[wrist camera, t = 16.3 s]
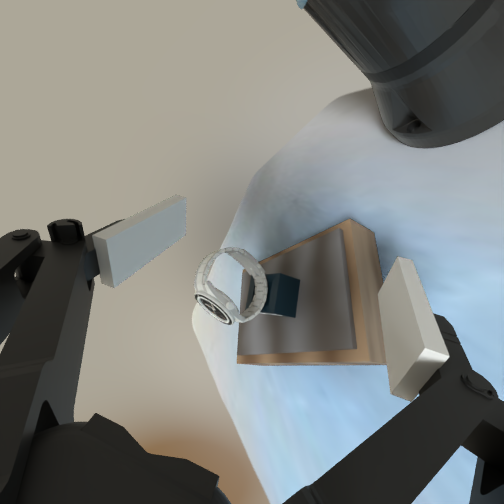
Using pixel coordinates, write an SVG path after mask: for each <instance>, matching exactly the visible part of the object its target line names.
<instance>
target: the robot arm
mask: <svg viewBox="0 0 504 504" xmlns="http://www.w3.org/2000/svg"><path fill="white" fill-rule="evenodd" d="M296 1H297V5H298V6H299V8H300V9H304V10H305V11H306V12H307V13H308V14H309V15H310V16H311V17H312V18H313V19H314V21H315V22H317V24H318V25H319V26H320V27H321V28H322V29H323V30H324V31H325V32H326V34H327V35H328V36H329V37H330V38H331V39H332V40H333V41H334V42H335V43H336V44H337V46H338V47H339V48H340V49H341V50H342V51H343V52H344V53H345V54H346V55H347V56H348V57H349V59H350V60H351V61H352V62H353V63H354V64H355V65H356V66H357V67H358V68H359V69H360V70H361V72H362V73H363V74H364V75H365V76H366V77H367V78H368V79H369V81H370V82H371V85H372V89H373V92H374V95H375V98H376V101H377V105H378V108H379V111H380V114H381V117H382V120H383V123H384V124H385V126H386V128H387V129H388V130H389V131H390V132H391V133H392V134H393V135H394V136H395V137H396V138H397V139H398V140H399V141H401V142H402V143H404V144H406V145H409V146H412V147H418V148H433V147H440V146H445V145H449V144H453V143H456V142H460V141H462V140H465V139H468V138H470V137H473V136H475V135H477V134H479V133H482V132H483V131H485V130H487V129H489V128H491V127H493V126H495V125H497V124H498V123H500V122H501V121H503V120H504V0H296ZM47 227H48V231H49V234H50V238H51V241H43V240H41V239H40V236H39V233H38V232H37V231H35V230H30V229H28V230H27V229H20V230H15V231H13V232H10V233H8V234H6V235H4V236H3V237H1V238H0V344H1V343H2V342H3V341H4V340H5V338H6V337H7V336H8V335H9V336H8V338H7V341H6V343H5V345H4V347H3V349H2V351H1V354H0V504H231V503H230V501H229V500H228V498H227V497H226V496H225V494H224V493H223V492H222V491H221V490H220V489H219V488H218V487H217V486H218V480H219V476H218V475H216V474H214V473H212V472H210V471H208V470H207V469H204V468H203V467H201V466H199V465H197V464H195V463H193V462H191V461H189V460H187V459H182V458H175V457H168V456H162V455H154V454H150V453H147V452H146V451H145V450H144V449H143V448H142V447H141V446H140V445H139V444H138V442H137V441H136V440H135V439H134V438H133V437H132V436H131V435H130V434H129V433H128V431H127V430H126V429H125V428H124V427H123V426H120V425H119V424H117V423H115V422H113V421H111V420H109V419H107V418H105V417H103V416H101V415H99V414H97V413H95V414H94V415H93V417H92V418H91V419H90V420H89V421H88V422H74V417H73V416H74V404H75V397H76V392H77V386H78V380H79V374H80V368H81V362H82V356H83V350H84V344H85V338H86V332H87V327H88V321H89V315H90V309H91V303H92V297H93V290H94V285H95V283H94V277H95V276H97V275H99V274H100V278H101V282H102V284H105V285H107V286H110V287H113V288H115V287H116V286H118V285H119V284H120V283H122V282H123V281H124V280H126V279H127V278H128V277H130V276H131V275H132V274H134V273H135V272H136V271H138V270H139V269H140V268H142V267H143V266H144V265H146V264H147V263H148V262H150V261H151V260H152V259H154V258H155V257H156V256H158V255H159V254H160V253H162V252H163V251H165V250H166V249H167V248H169V247H170V246H171V245H173V244H174V243H175V242H177V241H178V240H179V239H181V238H182V237H183V236H185V235H186V197H182V196H178V195H175V196H172V197H170V198H168V199H167V200H164V201H162V202H160V203H158V204H156V205H154V206H152V207H150V208H148V209H145V210H143V211H141V212H140V213H137V214H135V215H133V216H131V217H129V218H127V219H123V220H119V221H116V222H114V223H112V224H110V225H107V226H105V227H103V228H101V229H99V230H97V231H95V232H92V233H90V234H88V235H86V236H84V231H83V227H82V222H80V221H78V220H75V219H62V220H57V221H54V222H51V223H50V224H49V225H47ZM15 273H16V275H17V276H16V277H14V274H15ZM378 300H379V308H380V316H381V323H382V331H383V339H384V346H385V354H386V362H387V369H388V377H389V385H390V392H391V394H392V395H395V396H397V397H400V398H402V399H405V400H408V401H410V402H411V403H410V404H409V405H408V406H406V407H405V408H404V409H403V410H402V411H400V412H399V413H398V414H397V415H395V416H394V417H393V418H392V419H391V420H389V421H388V422H387V423H386V424H385V425H383V426H382V427H381V428H380V429H378V430H377V431H376V432H375V433H374V434H372V435H371V436H370V437H369V438H367V439H366V440H365V441H364V442H363V443H361V444H360V445H359V446H358V447H357V448H355V449H354V450H353V451H352V452H350V453H349V454H348V455H347V456H346V457H344V458H343V459H342V460H341V461H340V462H338V463H337V464H336V465H335V466H333V467H332V468H331V469H330V470H329V471H327V472H326V473H325V474H324V475H323V476H321V477H320V478H319V479H318V480H316V481H315V482H314V483H313V484H311V485H309V486H305V487H304V488H302V489H300V490H299V491H298V492H296V493H295V494H294V495H293V496H291V497H290V498H289V499H288V500H286V501H285V502H284V503H283V504H411V503H412V502H413V501H414V500H415V499H416V497H417V496H418V495H419V494H420V493H421V492H422V490H423V489H424V488H425V487H426V486H427V484H428V483H429V482H430V481H431V480H432V479H433V477H434V476H435V475H436V474H437V473H438V472H439V470H440V469H441V468H442V467H443V466H444V464H445V463H446V462H447V461H448V460H449V459H450V457H451V456H452V455H453V454H454V453H455V451H456V450H457V449H458V448H459V447H460V446H463V447H464V448H466V449H467V450H469V451H470V452H472V453H473V454H475V455H476V456H478V458H477V464H476V469H475V475H474V480H473V486H472V491H471V497H470V502H469V504H504V401H502V400H500V399H499V398H498V395H497V392H496V390H495V389H494V387H493V386H492V385H491V383H490V382H489V381H487V380H486V379H485V378H484V377H483V376H482V375H480V374H478V373H477V372H475V371H474V370H472V367H471V365H470V363H469V361H468V359H467V357H466V354H465V352H464V350H463V348H462V346H461V345H460V344H461V343H460V341H459V339H458V337H457V335H456V332H455V330H454V328H453V326H452V325H451V324H450V323H449V322H448V321H447V320H446V318H445V317H443V316H440V315H437V314H434V313H433V312H432V309H431V307H430V304H429V302H428V299H427V297H426V294H425V291H424V289H423V286H422V284H421V281H420V279H419V276H418V273H417V271H416V268H415V266H414V263H413V261H412V260H410V259H406V258H402V257H399V256H397V258H396V260H395V262H394V264H393V266H392V268H391V270H390V272H389V274H388V275H387V277H386V279H385V281H384V283H383V285H382V287H381V289H380V291H379V293H378ZM9 333H10V334H9ZM418 394H419V395H420V396H419V397H417V398H416V399H415V400H414V398H415V397H416V396H417V395H418ZM413 400H414V401H413Z"/></svg>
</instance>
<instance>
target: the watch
mask: <svg viewBox="0 0 504 504" xmlns="http://www.w3.org/2000/svg"><path fill="white" fill-rule="evenodd" d="M223 252H225V253H228V255H230V256H232V257H233V258H234V259H235V260H236V261H238V262H239V263H240V264H241V265H242V266H243V267H244V268H245V270H246V271H247V272H248V273H249V275H251V280H250V285H249V291H248V297H247V302H246V308H245V311H244V313H242V314H239V310H238V308H237V306H236V305H235V304H234V302H233V301H232V300H231V299H230V298H229V297H228V296H227V295H226V294H224V293H223V292H222V291H220V290H218V289H217V288H214V286H213V285H212V283H211V282H210V281H207V274H208V271H209V266H210V265H211V264H212V262H213V261H214V260H213V259H216V258H217V257H218V256H219V254H222V253H223ZM264 273H265V270H264V269H263V268H262V266H261V265H260V264H259V262H258V261H257V260H256V259H255V258H254V257H253V256H252V255H251V254H250V253H248V252H247V251H246V250H244V249H238V248H235V247H233V248H232V247H229V248H225V249H221V250H217V251H214V252H212V253H211V254H209V255H208V256H206V257H205V258H204V260H203V261H202V262H201V263H200V265H199V267H198V269H197V271H196V276H195V282H194V287H195V290H196V293H195V298H196V300H197V302H198V303H199V304H200V305H201V307H202V308H203V309H204V310H206V311H207V312H208V313H209V314H210V315H212V316H213V317H214V318H216V319H217V320H219V321H221V322H223V323H225V324H228V325H232V324H233V323H234V321H235V322H240V323H244V322H247V321H249V320H251V319H253V318H254V317H255V316H257V315H258V314H259V313H261V314H267V315H275V316H284V317H292V318H296V310H297V302H298V294H299V286H300V280H299V279H296V278H293V277H290V276H287V275H284V274H281V273H275V274H264Z"/></svg>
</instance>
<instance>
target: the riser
mask: <svg viewBox="0 0 504 504" xmlns="http://www.w3.org/2000/svg"><path fill="white" fill-rule="evenodd" d="M259 264H260V265H261V266H262V268H263V269H264V270H265V273H264V274H275V273H281V274H284V275H287V276H290V277H293V278H296V279H299V280H300V286H299V294H298V302H297V310H296V318H292V317H284V316H275V315H267V314H261V313H259V314H258V315H257V316H255V317H254V318H253V319H251V320H249V321H247V322H244V323H240V322H239V333H238V348H237V364H249V365H262V366H275V365H387V362H386V354H385V346H384V339H383V331H382V323H381V316H380V308H379V300H378V293H379V291H380V289H381V287H382V285H383V279H382V273H381V267H380V262H379V256H378V251H377V245H376V240H375V234H374V232H372V231H370V230H369V229H367V228H365V227H364V226H362V225H360V224H358V223H357V222H355V221H353V220H352V219H348V220H346V221H344V222H342V223H339V224H337V225H335V226H333V227H331V228H329V229H327V230H325V231H323V232H321V233H319V234H317V235H315V236H312V237H310V238H308V239H306V240H304V241H302V242H300V243H298V244H296V245H294V246H292V247H290V248H287V249H285V250H283V251H281V252H279V253H277V254H275V255H273V256H271V257H269V258H267V259H265V260H263V261H260V262H259ZM250 280H251V275H249V273H248V272H247V271H246V270H245V269H244V270H243V273H242V286H241V302H240V314H242V313H244V311H245V308H246V302H247V297H248V291H249V285H250Z"/></svg>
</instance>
